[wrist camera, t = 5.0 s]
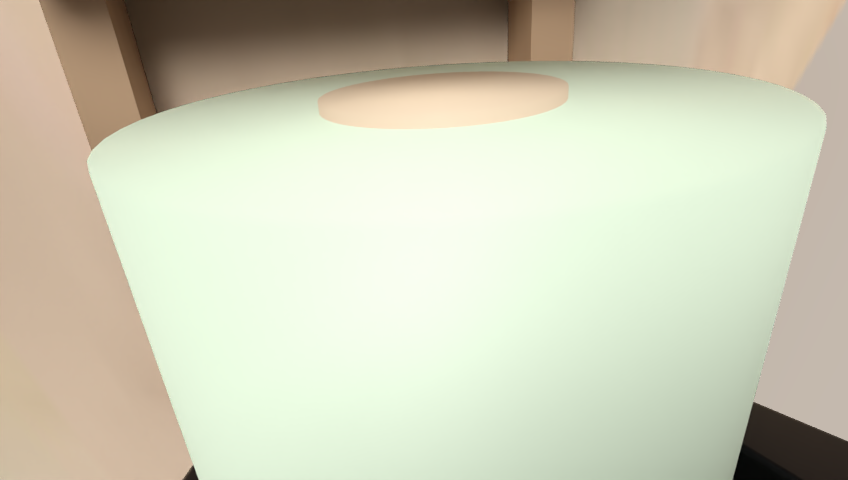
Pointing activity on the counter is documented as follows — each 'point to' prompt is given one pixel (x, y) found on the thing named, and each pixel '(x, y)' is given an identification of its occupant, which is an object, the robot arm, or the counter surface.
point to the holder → (126, 81)
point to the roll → (464, 268)
